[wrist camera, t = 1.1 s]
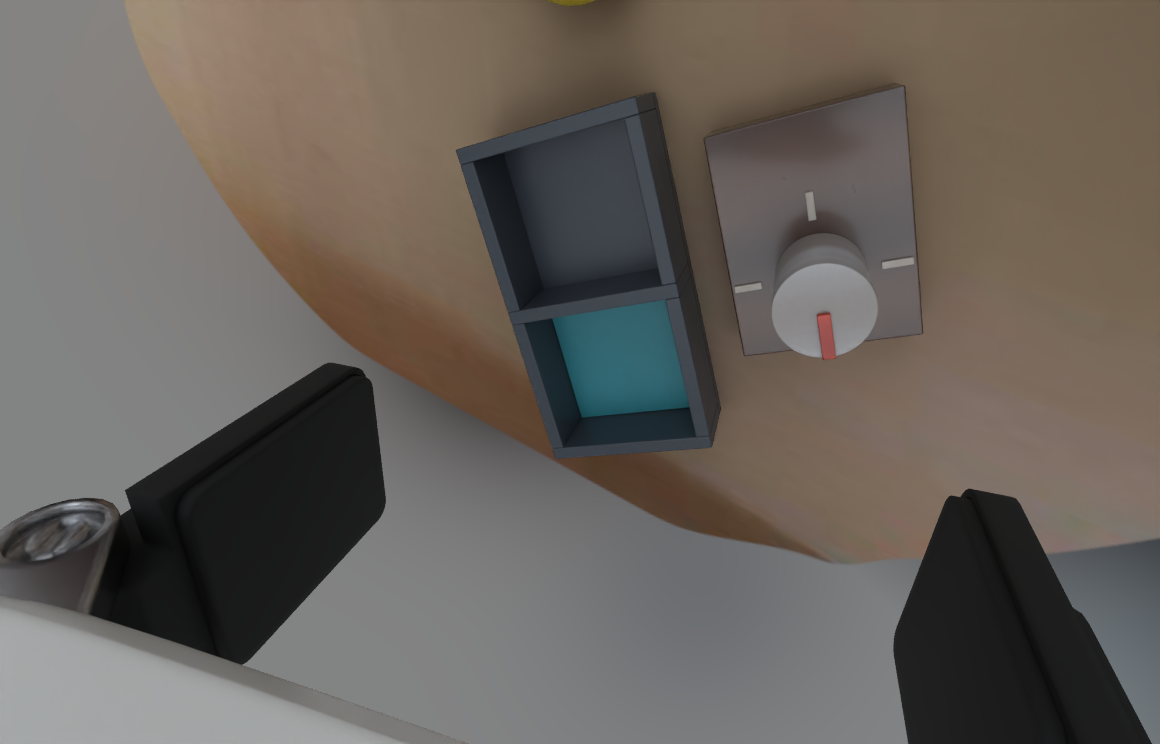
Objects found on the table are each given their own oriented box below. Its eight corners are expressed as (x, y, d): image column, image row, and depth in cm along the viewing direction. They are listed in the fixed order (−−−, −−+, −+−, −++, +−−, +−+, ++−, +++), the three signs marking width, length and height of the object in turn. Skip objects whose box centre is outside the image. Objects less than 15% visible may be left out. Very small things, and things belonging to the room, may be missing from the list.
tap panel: (710, 131, 34) (702, 138, 31) (896, 83, 30) (905, 85, 28) (748, 341, 38) (744, 362, 35) (914, 319, 35) (924, 341, 32)
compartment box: (493, 140, 38) (455, 149, 33) (655, 91, 34) (635, 96, 30) (577, 422, 44) (555, 459, 40) (721, 409, 41) (712, 448, 36)
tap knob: (769, 242, 32) (763, 275, 27) (862, 224, 31) (874, 256, 26) (781, 321, 34) (778, 366, 29) (870, 308, 32) (883, 354, 27)
